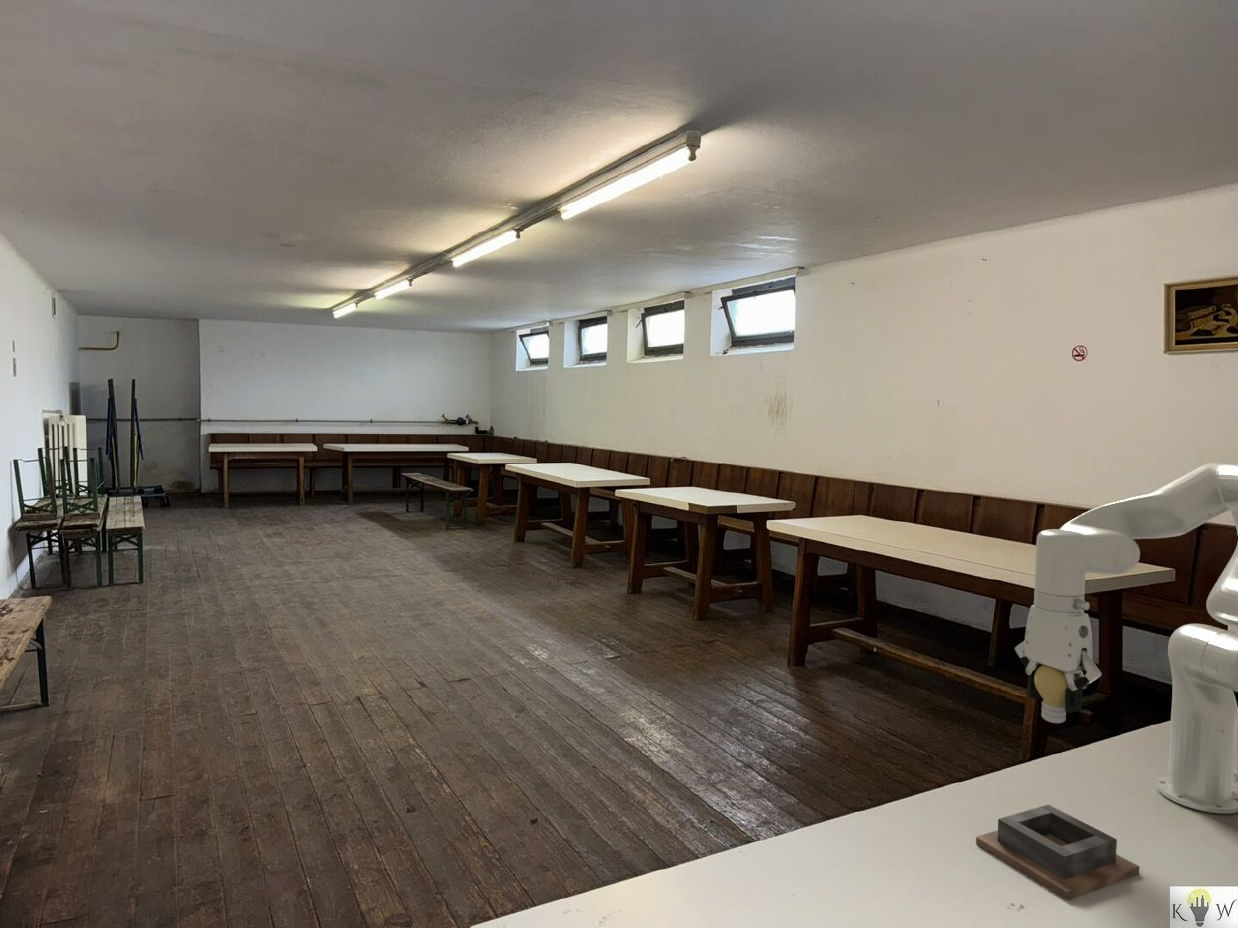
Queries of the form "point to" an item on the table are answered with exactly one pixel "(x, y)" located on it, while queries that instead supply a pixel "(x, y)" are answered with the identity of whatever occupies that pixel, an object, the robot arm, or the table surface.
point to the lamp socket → (1058, 851)
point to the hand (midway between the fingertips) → (1054, 702)
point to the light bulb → (1052, 693)
